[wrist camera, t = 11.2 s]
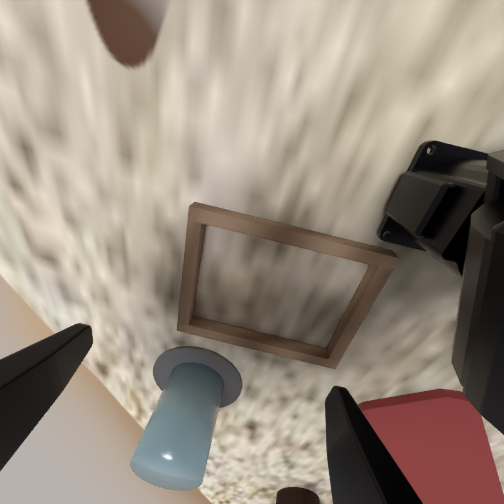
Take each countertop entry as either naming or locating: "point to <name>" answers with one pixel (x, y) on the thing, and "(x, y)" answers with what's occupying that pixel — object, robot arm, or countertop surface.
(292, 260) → the countertop surface
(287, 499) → the coffee mug
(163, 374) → the coaster
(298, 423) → the countertop surface
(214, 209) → the brown wooden frame
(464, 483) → the carton
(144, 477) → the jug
